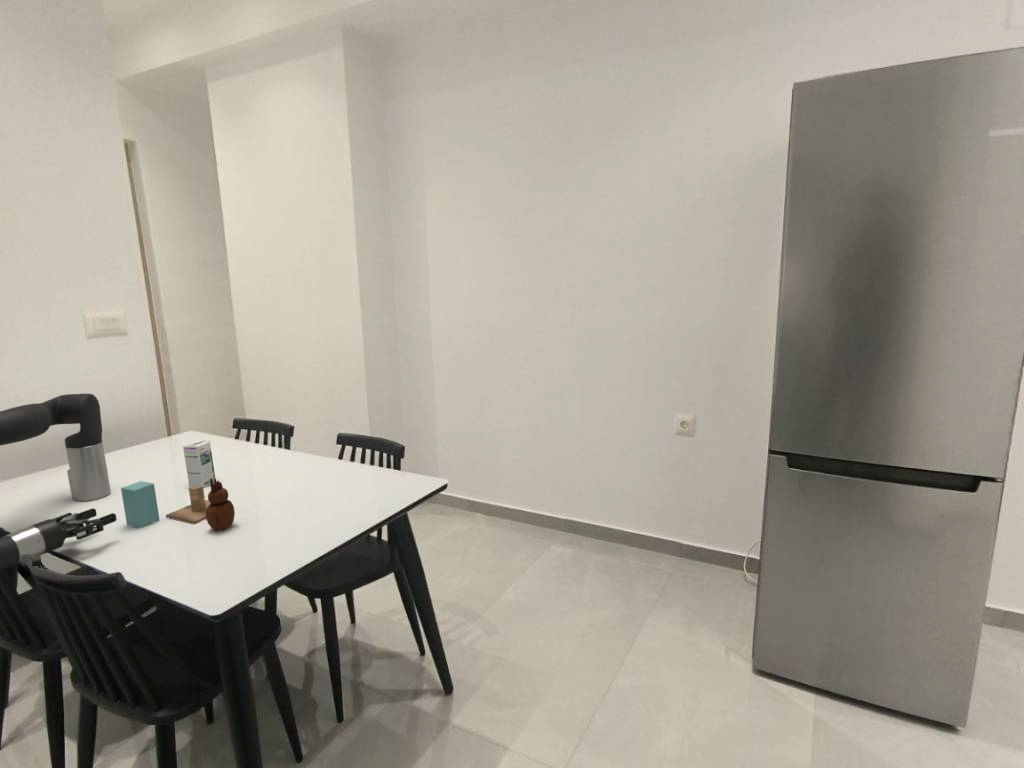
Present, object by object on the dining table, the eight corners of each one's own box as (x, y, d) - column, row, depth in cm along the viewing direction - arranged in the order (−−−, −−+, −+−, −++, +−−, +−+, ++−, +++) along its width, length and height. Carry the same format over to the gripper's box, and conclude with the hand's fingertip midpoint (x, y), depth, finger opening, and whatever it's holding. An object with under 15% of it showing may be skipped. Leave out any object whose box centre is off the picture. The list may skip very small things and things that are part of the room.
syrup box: (203, 488, 183) (198, 445, 180) (188, 487, 184) (182, 445, 181) (216, 482, 188) (210, 440, 186) (201, 481, 190) (195, 440, 187)
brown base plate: (194, 524, 156) (191, 497, 155) (166, 517, 161) (162, 492, 159) (231, 507, 167) (228, 482, 165) (203, 501, 172) (200, 477, 170)
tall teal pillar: (139, 528, 154) (133, 490, 152) (127, 525, 156) (120, 488, 154) (159, 520, 159) (154, 483, 157) (146, 517, 161) (141, 481, 159)
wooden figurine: (216, 535, 149) (209, 482, 146) (204, 530, 152) (197, 478, 149) (240, 525, 154) (233, 474, 152) (228, 521, 157) (221, 470, 155)
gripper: (48, 531, 130) (120, 504, 145) (14, 521, 136) (86, 497, 150) (54, 560, 132) (124, 531, 146) (20, 550, 137) (91, 523, 152)
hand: (105, 514), depth 148 cm, fingers open, 8 cm apart
